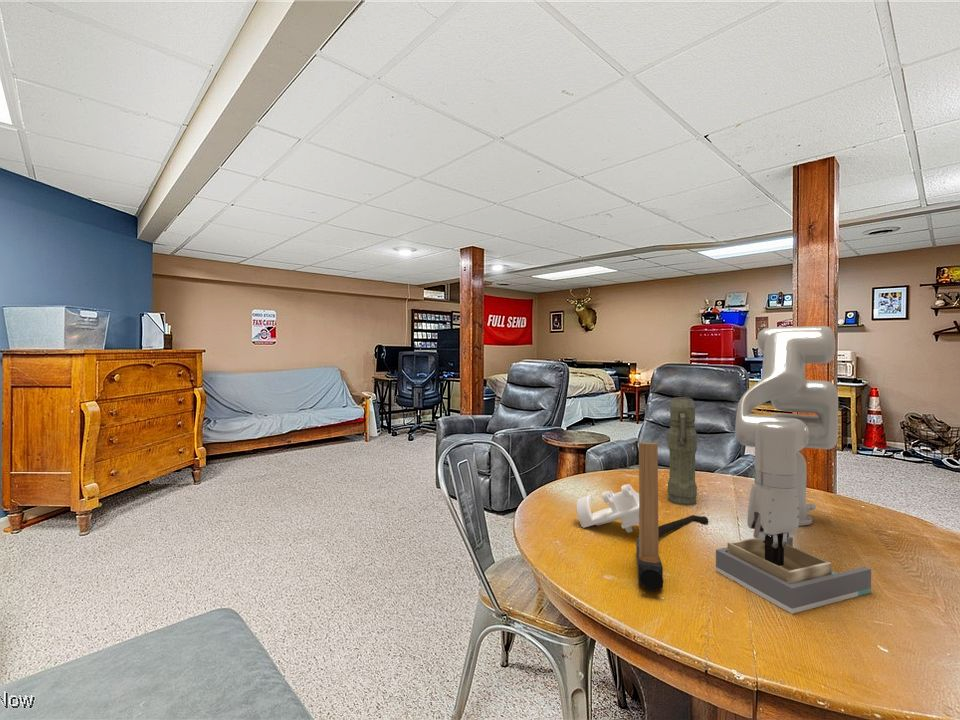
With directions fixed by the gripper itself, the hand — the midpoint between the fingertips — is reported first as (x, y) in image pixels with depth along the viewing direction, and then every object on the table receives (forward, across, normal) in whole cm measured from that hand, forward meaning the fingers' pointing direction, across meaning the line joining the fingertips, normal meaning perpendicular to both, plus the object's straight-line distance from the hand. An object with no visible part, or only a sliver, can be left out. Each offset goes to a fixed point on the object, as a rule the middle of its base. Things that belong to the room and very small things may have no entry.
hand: (774, 563), depth 98 cm
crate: (+3, -1, 0) cm, 4 cm away
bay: (+5, -5, 0) cm, 7 cm away
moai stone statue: (+5, -22, -50) cm, 55 cm away
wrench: (+5, 0, -29) cm, 29 cm away
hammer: (+5, +22, -13) cm, 26 cm away
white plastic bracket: (+5, +14, -38) cm, 41 cm away
